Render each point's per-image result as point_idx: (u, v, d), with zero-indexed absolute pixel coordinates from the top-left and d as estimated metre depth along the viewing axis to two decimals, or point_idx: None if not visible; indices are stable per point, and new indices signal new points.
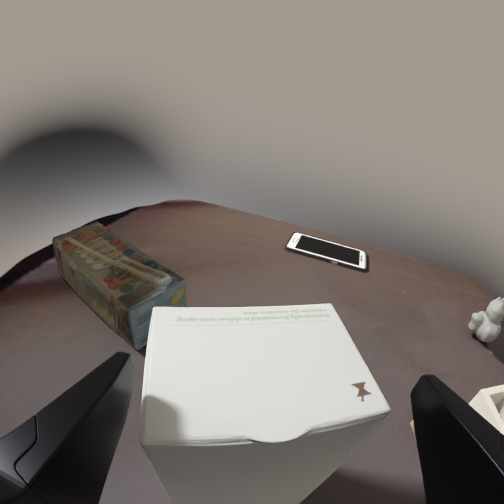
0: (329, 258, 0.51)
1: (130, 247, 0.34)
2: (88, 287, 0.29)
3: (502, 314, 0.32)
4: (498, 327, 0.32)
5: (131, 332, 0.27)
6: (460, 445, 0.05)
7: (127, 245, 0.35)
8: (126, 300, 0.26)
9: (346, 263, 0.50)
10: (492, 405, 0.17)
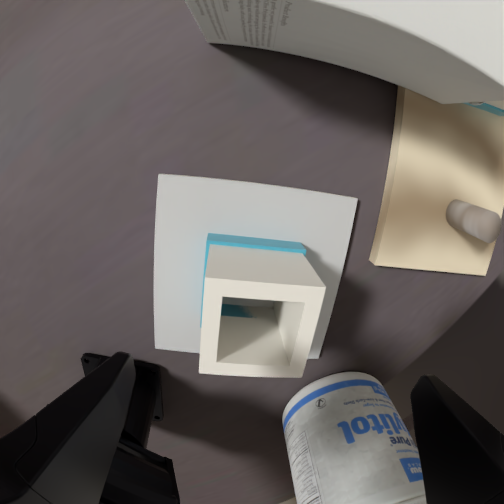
0: None
1: None
2: None
3: None
4: None
5: None
6: (460, 444, 0.05)
7: None
8: None
9: None
10: None
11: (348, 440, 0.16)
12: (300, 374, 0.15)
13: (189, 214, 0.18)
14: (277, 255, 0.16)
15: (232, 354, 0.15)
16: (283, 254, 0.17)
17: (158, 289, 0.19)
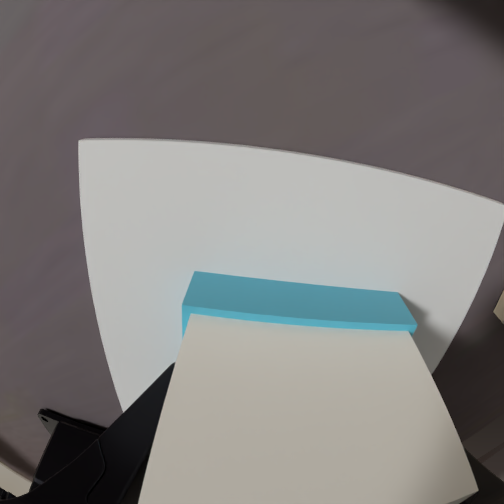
0: None
1: None
2: None
3: None
4: None
5: None
6: None
7: None
8: None
9: None
10: None
11: None
12: None
13: (149, 229, 0.07)
14: (359, 353, 0.06)
15: None
16: (371, 345, 0.06)
17: (115, 360, 0.10)
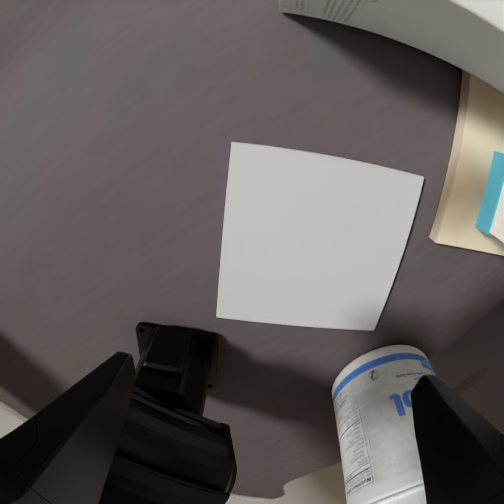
0: None
1: None
2: None
3: None
4: None
5: None
6: (460, 445, 0.05)
7: None
8: None
9: None
10: None
11: (399, 413, 0.17)
12: None
13: (262, 183, 0.17)
14: None
15: None
16: None
17: (225, 258, 0.20)
